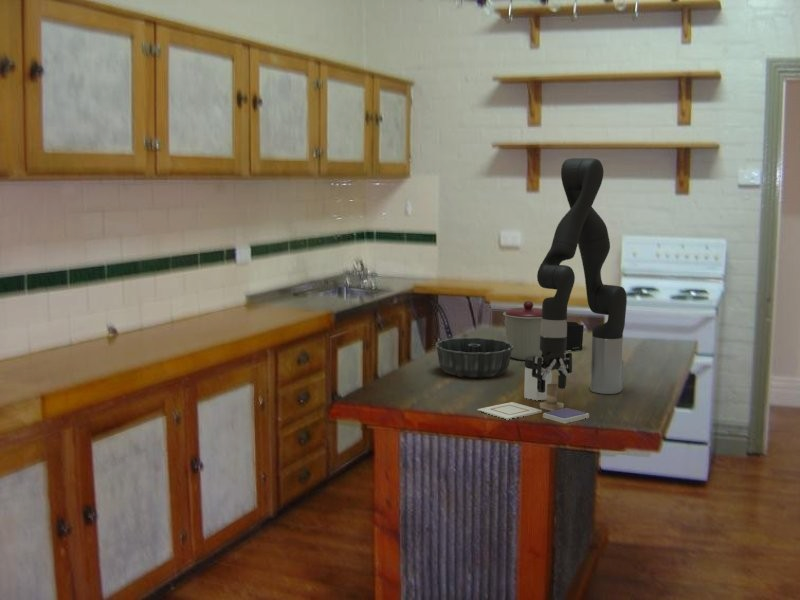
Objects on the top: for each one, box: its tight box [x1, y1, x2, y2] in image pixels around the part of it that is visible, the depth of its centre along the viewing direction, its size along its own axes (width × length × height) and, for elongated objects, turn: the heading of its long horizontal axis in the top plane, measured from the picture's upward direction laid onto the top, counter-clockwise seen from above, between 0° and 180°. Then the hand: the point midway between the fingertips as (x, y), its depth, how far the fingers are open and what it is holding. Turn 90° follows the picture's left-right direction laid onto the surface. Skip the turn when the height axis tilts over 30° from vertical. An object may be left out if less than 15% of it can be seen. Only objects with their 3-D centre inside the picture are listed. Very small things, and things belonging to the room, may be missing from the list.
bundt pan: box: [435, 337, 514, 379], centre depth 314 cm, size 26×26×10 cm
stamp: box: [539, 383, 565, 412], centre depth 267 cm, size 5×5×7 cm
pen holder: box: [566, 321, 585, 352], centre depth 358 cm, size 9×9×10 cm
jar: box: [523, 356, 553, 402], centre depth 281 cm, size 9×8×12 cm
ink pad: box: [542, 407, 590, 424], centre depth 258 cm, size 10×8×1 cm
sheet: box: [476, 401, 543, 421], centre depth 264 cm, size 14×12×1 cm
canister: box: [502, 300, 542, 361], centre depth 339 cm, size 18×18×21 cm
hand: (551, 390), depth 267 cm, fingers open, 8 cm apart
